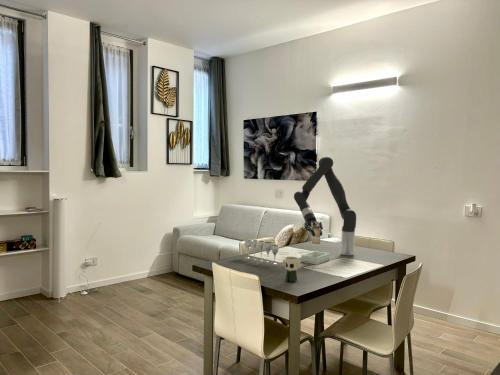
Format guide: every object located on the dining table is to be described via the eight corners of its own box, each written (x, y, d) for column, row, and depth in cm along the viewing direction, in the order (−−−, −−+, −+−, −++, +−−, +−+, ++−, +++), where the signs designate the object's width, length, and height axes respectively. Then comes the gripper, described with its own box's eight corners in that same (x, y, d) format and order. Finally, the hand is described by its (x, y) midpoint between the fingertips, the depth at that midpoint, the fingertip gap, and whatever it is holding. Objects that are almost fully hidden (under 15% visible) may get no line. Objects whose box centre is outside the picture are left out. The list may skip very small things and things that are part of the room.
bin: (313, 257, 280) (314, 250, 280) (329, 259, 273) (329, 253, 272) (301, 261, 265) (301, 255, 265) (317, 264, 258) (317, 257, 258)
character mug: (279, 281, 218) (279, 257, 217) (285, 278, 224) (286, 255, 223) (297, 284, 212) (297, 260, 211) (302, 281, 218) (303, 258, 217)
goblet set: (280, 263, 259) (280, 243, 258) (274, 265, 255) (275, 244, 254) (247, 256, 277) (248, 238, 276) (242, 258, 273) (242, 239, 272)
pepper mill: (314, 242, 272) (314, 225, 272) (321, 243, 269) (321, 225, 268) (310, 243, 268) (311, 225, 267) (317, 244, 265) (318, 226, 264)
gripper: (302, 212, 271) (311, 232, 261) (319, 212, 277) (329, 231, 267) (297, 219, 276) (306, 239, 266) (314, 218, 282) (324, 238, 272)
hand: (317, 235), depth 267 cm, fingers closed on pepper mill, 5 cm apart
